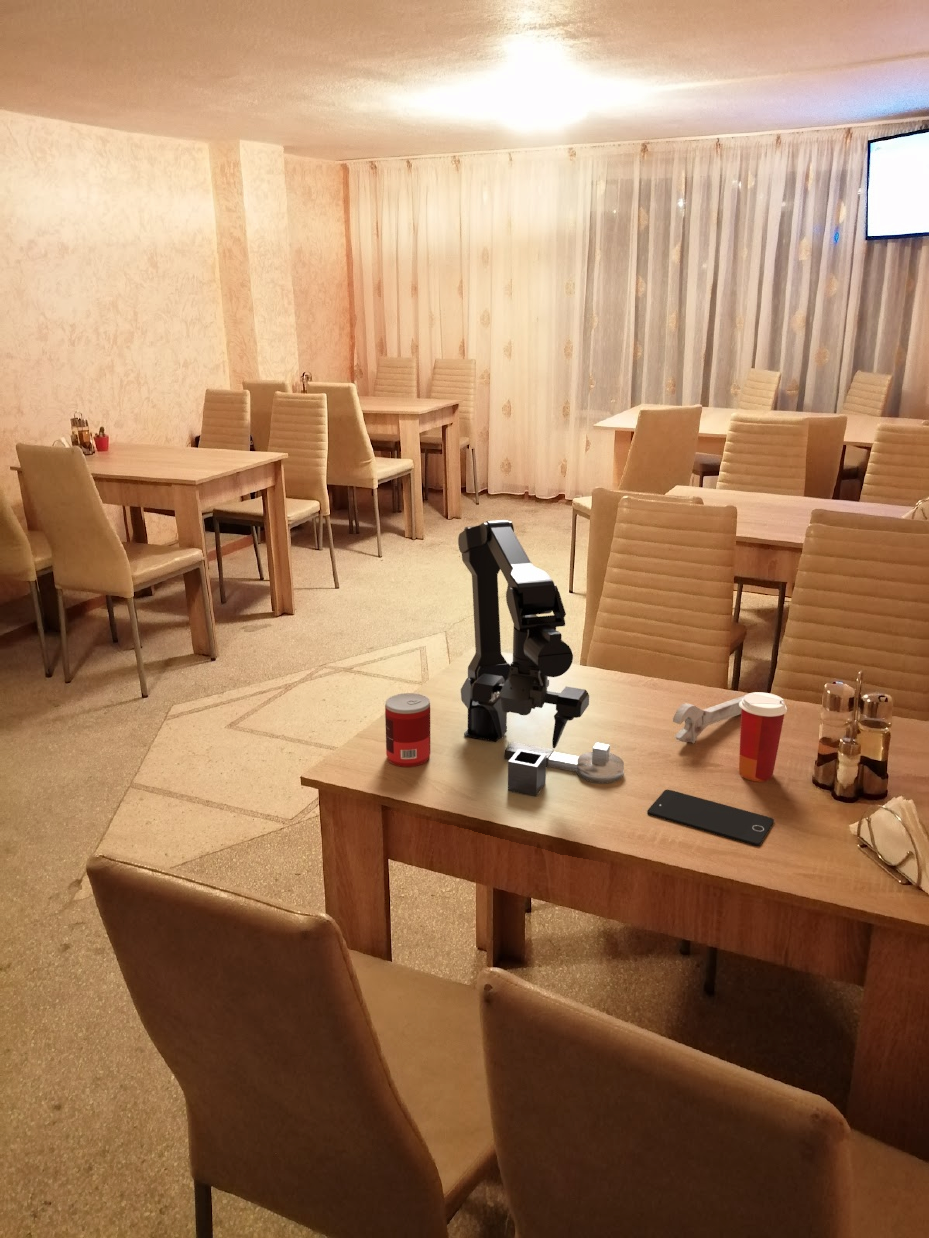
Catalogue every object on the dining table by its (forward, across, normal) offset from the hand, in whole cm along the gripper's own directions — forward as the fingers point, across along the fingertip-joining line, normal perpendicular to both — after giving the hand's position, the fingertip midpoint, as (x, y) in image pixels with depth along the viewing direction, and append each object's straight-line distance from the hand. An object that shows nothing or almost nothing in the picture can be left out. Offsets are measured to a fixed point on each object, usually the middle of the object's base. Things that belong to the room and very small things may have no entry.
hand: (527, 742), depth 156 cm
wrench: (+9, +26, +37) cm, 46 cm away
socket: (+8, 0, 0) cm, 8 cm away
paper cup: (+8, +35, +20) cm, 41 cm away
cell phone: (+9, +30, +2) cm, 31 cm away
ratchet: (+8, +4, +10) cm, 13 cm away
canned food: (+8, -23, +2) cm, 25 cm away
